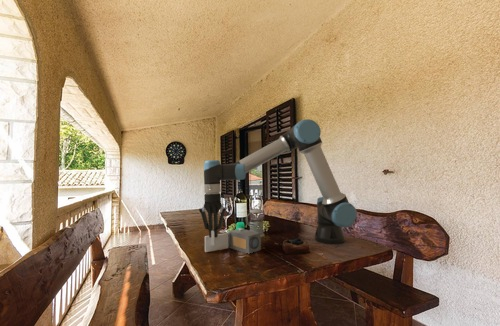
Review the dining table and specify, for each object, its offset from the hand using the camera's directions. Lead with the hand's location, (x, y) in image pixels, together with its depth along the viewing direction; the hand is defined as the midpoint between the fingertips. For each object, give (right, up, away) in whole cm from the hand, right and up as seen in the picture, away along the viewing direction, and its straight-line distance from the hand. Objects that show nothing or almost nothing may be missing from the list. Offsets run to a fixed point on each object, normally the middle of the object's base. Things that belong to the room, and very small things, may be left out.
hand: (213, 244), depth 112 cm
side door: (+1, -3, +3) cm, 5 cm away
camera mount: (+14, -5, +20) cm, 25 cm away
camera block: (+14, -4, +5) cm, 16 cm away
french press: (+20, -5, +32) cm, 38 cm away
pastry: (+38, -4, +1) cm, 38 cm away
